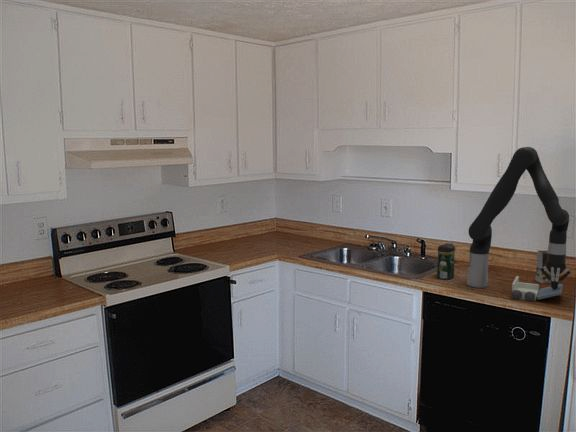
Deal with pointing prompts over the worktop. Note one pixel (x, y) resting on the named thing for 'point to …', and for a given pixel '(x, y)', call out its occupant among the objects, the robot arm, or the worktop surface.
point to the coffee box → (541, 263)
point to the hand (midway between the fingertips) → (554, 288)
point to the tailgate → (549, 292)
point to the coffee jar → (446, 261)
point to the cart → (524, 290)
